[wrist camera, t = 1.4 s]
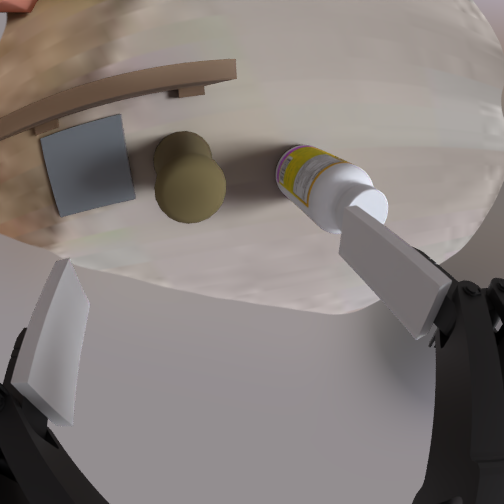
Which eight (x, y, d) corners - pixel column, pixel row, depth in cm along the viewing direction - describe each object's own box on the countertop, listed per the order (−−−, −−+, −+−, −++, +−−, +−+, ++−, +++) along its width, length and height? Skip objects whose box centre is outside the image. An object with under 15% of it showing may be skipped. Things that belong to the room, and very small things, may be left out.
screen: (33, 108, 19) (-40, 127, 8) (204, 66, 23) (234, 44, 12) (37, 134, 21) (-32, 169, 10) (206, 94, 24) (237, 93, 14)
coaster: (42, 137, 21) (40, 138, 21) (121, 113, 23) (120, 114, 22) (62, 215, 26) (60, 217, 25) (135, 196, 28) (135, 198, 27)
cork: (221, 144, 28) (251, 172, 19) (197, 195, 30) (214, 246, 21) (167, 122, 25) (168, 138, 16) (144, 176, 27) (135, 221, 18)
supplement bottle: (330, 183, 34) (399, 230, 23) (284, 206, 34) (341, 266, 23) (315, 134, 30) (392, 165, 19) (264, 158, 30) (323, 200, 19)
